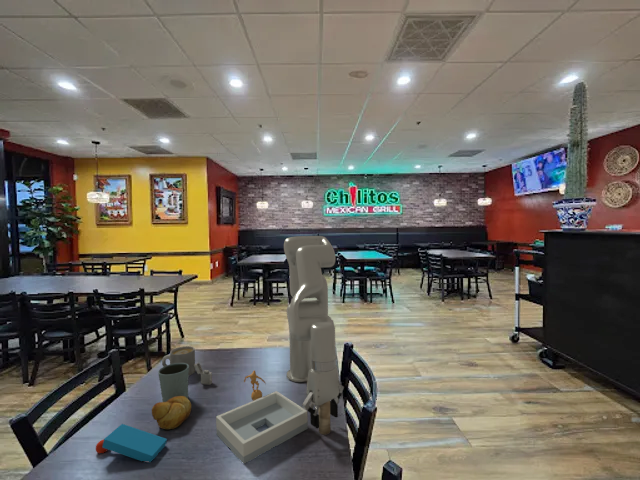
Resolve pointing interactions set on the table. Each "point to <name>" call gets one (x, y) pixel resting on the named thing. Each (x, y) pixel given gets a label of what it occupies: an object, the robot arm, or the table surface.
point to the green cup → (174, 380)
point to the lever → (132, 443)
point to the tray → (244, 420)
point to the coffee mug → (182, 357)
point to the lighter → (204, 375)
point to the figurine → (256, 393)
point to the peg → (324, 418)
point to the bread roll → (171, 412)
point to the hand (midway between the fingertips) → (324, 420)
